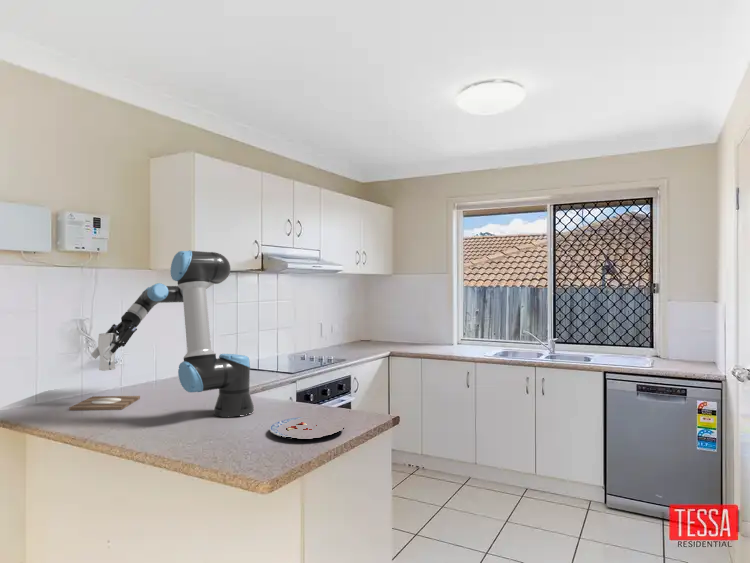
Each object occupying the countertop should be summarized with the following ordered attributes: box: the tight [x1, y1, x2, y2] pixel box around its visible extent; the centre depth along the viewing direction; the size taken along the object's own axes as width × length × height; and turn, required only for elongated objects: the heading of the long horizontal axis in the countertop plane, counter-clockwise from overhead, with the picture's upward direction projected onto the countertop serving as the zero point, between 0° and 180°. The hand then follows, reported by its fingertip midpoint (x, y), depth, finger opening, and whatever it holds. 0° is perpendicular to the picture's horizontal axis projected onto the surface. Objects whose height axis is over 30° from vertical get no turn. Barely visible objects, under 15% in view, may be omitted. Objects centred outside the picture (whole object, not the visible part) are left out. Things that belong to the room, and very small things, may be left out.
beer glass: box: [97, 332, 117, 372], centre depth 213 cm, size 7×7×15 cm
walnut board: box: [68, 395, 141, 411], centre depth 212 cm, size 20×20×2 cm
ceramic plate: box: [269, 416, 317, 438], centre depth 174 cm, size 26×26×3 cm
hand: (99, 357), depth 210 cm, fingers closed on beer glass, 7 cm apart
